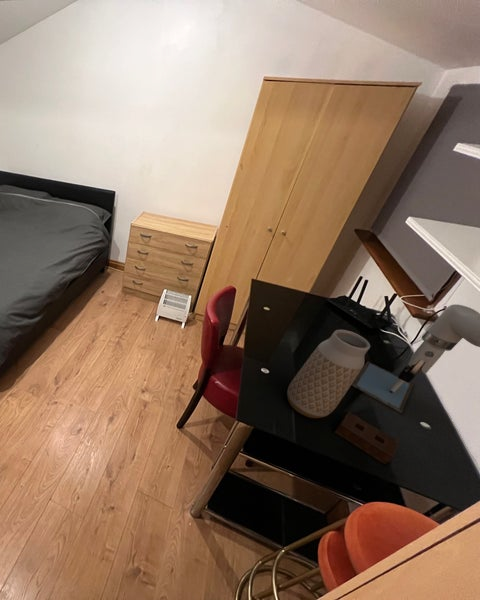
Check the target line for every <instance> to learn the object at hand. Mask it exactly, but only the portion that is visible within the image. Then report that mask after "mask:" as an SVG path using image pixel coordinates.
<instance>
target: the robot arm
mask: <svg viewBox="0 0 480 600" xmlns="http://www.w3.org/2000/svg"><path fill="white" fill-rule="evenodd" d="M421 340H422V341H423V342H422V343H421V344H420V345H419V346H418V347H417V348H416V350H415V351H414V353H413V354H412V355H411V358H410V360H409V362H408V364H407V365H406V366H405V367H404V368H403V369H402V370H401V371H400V372H399V374H398V375H397V376H398V378H399V379H401V380H403V381H405V382H407V383H409V382H411V381H412V380H413V379H414V378H415V377H417V374H418V373H419V372H420V371H421V373H423V374H427V373H428V372H429V371H430V370H431V368H432V367H433V366H434V365H435V364H436V363H437V362H438V361H439V359H440V358H441V357H442V356H443V354H444V353H445V352H451V351H452V350H453V349H454V348H455V347H456V346H457V345H458V344H459V343H460V342H461V340H465V341H466V342H468V343H469V344H471V345H473V346H475V347H478V348H480V312H479V311H477V310H475V309H473V308H471V307H470V306H466V305H463V304H450V305H448V306H447V307H446V308H445V309H444V311H442V313H440V315H439V316H438V318H436V319H435V321H434V322H433V323H432V325H430V326H429V327H428V329H427V330H426V331H425V332H424V333H423V335H421ZM411 367H412V368H411Z"/></svg>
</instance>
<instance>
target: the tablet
mask: <svg viewBox="0 0 480 600" xmlns="http://www.w3.org/2000/svg"><path fill="white" fill-rule="evenodd" d="M398 376H399V375H397V374H395V373H393V372H391V371H389V370H387V369H384V368H382V367H381V366H378V365H377V364H375V363H372V362H371V361H366V363H365V364H364V366H363V368H362V369H361V371H360V372H359V374H358V376H357V377H356V379H355V380H354V382H353V383H352V385H351V387H352V388H354V389H355V390H358V391H359V392H361V393H362V394H365V395H367V396H368V397H371V399H374V400H376V401H378V402H379V403H381V404H383V405H385V406H387V407H388V408H390V409H392V410H394V411H396V412H398V413H399V414H401V413H403V411H404V408H405V405H406V403H407V401H408V399H409V396H410V394H411V391H412V390H413V387H414V383H413V382H411V381H410V382H409V383H407V382H405V381H404V382H403V383H402V384H401V386H400V387H399V388H398V389H397V390H396V391H395V392H393V393H390V392H389V391H390V389H391V388H392V387H393V386H394V384H395V383H396V382H397V381H398V380H399V378H398Z"/></svg>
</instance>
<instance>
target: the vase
mask: <svg viewBox="0 0 480 600" xmlns="http://www.w3.org/2000/svg"><path fill="white" fill-rule="evenodd" d="M370 348H371V343H370V342H369V341H368V340H367V338H365V337H363V336H362V335H360V334H358V333H356V332H353V331H350V330H346V329H336V330H334V331H333V333H331V336H330V337H328V338H327V339H325V340H324V341H322V342H320V343H319V344H318V345H317V347H316V348H315V349H314V351H312V353H311V354H310V356H309V357H308V358H307V359H306V362H304V364H303V365H302V366H301V368H300V369H299V371H298V372H297V373H296V375H295V376H294V377H293V379H292V380H291V382H290V383H289V385H288V388H287V391H286V397H287V401H288V403H289V405H290V406H291V407H292V408H293V409H294V410H295V411H296V412H297V413H299V414H300V415H302V416H304V417H307V418H310V419H322V418H324V417H327V416H329V415H330V414H331V413H333V412H334V411H335V409H336V408H337V407H338V406H339V404H340V403H341V401H342V399H343V398H344V397H345V395H346V394H347V392H348V391H349V389H350V388H351V387H352V384H353V383H354V381H355V380H356V378H357V377H358V375H359V374H360V372H361V371H362V369H363V368H364V366H365V355H366V354H367V353H368V351H369V350H370Z"/></svg>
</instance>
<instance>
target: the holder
mask: <svg viewBox="0 0 480 600" xmlns="http://www.w3.org/2000/svg"><path fill="white" fill-rule="evenodd" d="M334 433H335V434H336V435H338V436H340V437H341V438H343V439H344V440H346V441H347V442H349V443H350V444H352V445H354V446H355V447H357V448H359V450H361V451H363V452H365V453H366V454H368V455H369V456H371V457H372V458H374V459H376V461H379V463H382V464H383V465H387V464H388V463H389V462H390V461H391V460H392V459H393V458H394V456H395V455H396V451H397V448H398V446H399V443H400V441H399V440H397V439H395V438H393V437H392V436H390V435H389V434H387V433H385V432H384V431H382V430H381V429H379V428H377V427H375V426H374V425H372V424H370V423H369V422H367V421H366V420H363V419H362V418H360V417H358V416H357V415H355V414H353V413H351V412H350V411H348V412H347V413H346V414H345V416H344V417H343V418H342V420H341V421H340V423H339V424H338V426H337V427H336V429H335V431H334Z"/></svg>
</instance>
